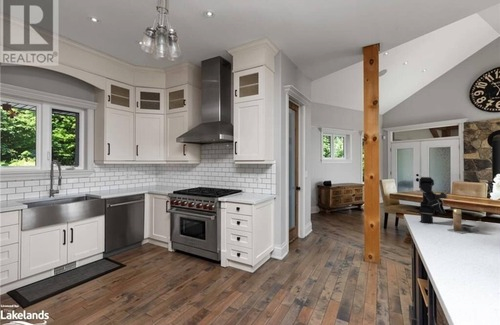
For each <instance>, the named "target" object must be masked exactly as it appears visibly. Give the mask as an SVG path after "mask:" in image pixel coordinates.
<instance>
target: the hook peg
mask: <svg viewBox="0 0 500 325" xmlns="http://www.w3.org/2000/svg"><path fill="white" fill-rule="evenodd" d="M452 217H453V218H452V220H453V221H452V223H453V224H452V225H453V226H452V227H453V228H452V229H453V230H454V231H458V232H461V231H462V224H463V223H462V209H459V208H453V209H452Z"/></svg>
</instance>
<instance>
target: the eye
mask: <svg viewBox="0 0 500 325" xmlns="http://www.w3.org/2000/svg"><path fill="white" fill-rule="evenodd" d="M462 230H463V231H467V232H468V233H470V234H471V233H477V232H480V231H479V230H480V227H479V226H477V225H472V224H467V223H462Z"/></svg>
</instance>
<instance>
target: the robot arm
mask: <svg viewBox="0 0 500 325" xmlns="http://www.w3.org/2000/svg"><path fill="white" fill-rule="evenodd" d="M433 186H435V180H434V179H433V178H432V177H430V176H421V177H420V178H419V181H418V188H419V189H420V190H419V191H420V192H421V193H422V201H421V202H420V206H419V215H420V221H419V222H420V223H423V224H427V225H430V224H434V217H433V216H436V215H435V213H436V212H437V213H438V214H440V215H444V214H446V211H445V208H444V200H443V199H448V195H447V193H445V192H441V193H440V194H437V193H436V192H434V191H433Z"/></svg>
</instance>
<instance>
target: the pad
mask: <svg viewBox="0 0 500 325" xmlns="http://www.w3.org/2000/svg"><path fill="white" fill-rule="evenodd" d="M447 231H448V232H453V233H457V234H460V235H463V234H467V233H469V232H467V231H463V230H462V231H461V232H458V231H454V230H453V228H449V229H447Z"/></svg>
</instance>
